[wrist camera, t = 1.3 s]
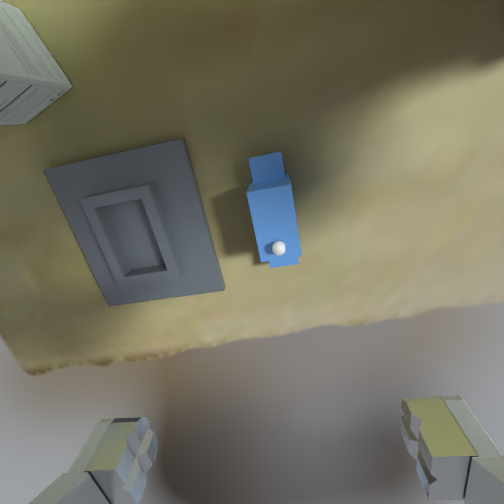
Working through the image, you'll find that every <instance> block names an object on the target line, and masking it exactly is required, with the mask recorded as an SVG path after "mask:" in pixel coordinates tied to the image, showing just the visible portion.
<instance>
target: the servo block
mask: <svg viewBox="0 0 504 504" xmlns="http://www.w3.org/2000/svg"><path fill="white" fill-rule="evenodd" d="M248 159H249V164H250V169H251V174H252V179H253V180H251V183H250V185H249V188H248V190H247V192H246V193H247V198H248V203H249V208H250V212H251V217H252V222H253V226H254V231H255V236H256V241H257V245H258V250H259V255H260V260H261V262H266V261H269V265H270V268H273V267H279V266H286V265H293V264H299V263H298V257H300V256H302V254H301V248H300V241H299V234H298V227H297V220H296V213H295V207H294V200H293V193H292V186H291V181H290V177H289V173H287V174H285V172H284V166H283V159H282V152H281V151H279V152H275V153H270V154H265V155H260V156H255V157H250V158H248Z"/></svg>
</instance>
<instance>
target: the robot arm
mask: <svg viewBox="0 0 504 504" xmlns="http://www.w3.org/2000/svg"><path fill="white" fill-rule="evenodd" d="M401 409H402V411H403V413H404V415H403V416H402V417H401V428H402V433H403V437H404V440H405V444H406V446H407V448H408V451H409V454H410V455H411V456H412V457H413V458H415V459H416V460H417V473H418V476H419V478H420V481H421V483H422V485H423V488H424V490H425V492H426V495H427V497H428V500H464V503H465V504H504V456H502V454H501V453H500V452H499V450H498V449H497V447H496V446H495V444H494V443H493V441H492V440H491V438H490V437H489V436H488V434H487V433H486V431H485V430H484V428H483V427H482V426H481V424H480V423H479V421H478V420H477V418H476V417H475V416H474V414H473V413H472V411H471V410H470V408H469V407H468V405H467V404H466V403H465V401H464V400H463V399H462V398H461V397H460V396H459V395H453V396H440V397H437V396H433V397H421V398H411V399H410V398H409V399H402V401H401ZM149 424H150V423H149V422H148V420H147V418H146V417H139V418H115V419H102V420H101V421H100V422H99V423H97V425H96V427H95V428H94V430H93V432H92V433H91V435H90V436H89V438H88V440H87V441H86V443H85V445H84V446H83V448H82V450H81V451H80V453H79V455H78V456H77V458H76V460H75V461H74V463H73V465H72V467H71V468H70V470H69V472H68V473H63V474H62V475H61V476H60V477H58V478H57V479H56V480H55V481H54V482H53V483H52V484H51V485H49V487H47V488H46V489H45V490H44V491H43V492H41V493H40V494H39V495H38V496H37V497H36V498H35V499H34V500H32V501H31V502H30V503H29V504H139V502H140V499H141V496H142V493H143V491H144V488H145V485H146V483H147V477H146V472H147V470H148V469H149V468H150V467H151V466H152V465H153V463H154V460H155V457H156V453H157V438H156V436H155V433H154V432H152V431H151V430H150V429H148V426H149Z"/></svg>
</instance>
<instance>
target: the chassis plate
mask: <svg viewBox="0 0 504 504" xmlns="http://www.w3.org/2000/svg"><path fill="white" fill-rule="evenodd" d="M43 171H44V173H45V175H46V177H47V179H48V181H49V183H50V185H51V188H52V190H53V192H54V194H55V196H56V198H57V200H58V202H59V204H60V206H61V208H62V210H63V212H64V214H65V217H66V219H67V221H68V223H69V225H70V227H71V229H72V231H73V233H74V235H75V237H76V239H77V241H78V244H79V246H80V248H81V250H82V252H83V254H84V256H85V258H86V260H87V262H88V264H89V266H90V268H91V271H92V273H93V275H94V277H95V279H96V281H97V283H98V285H99V287H100V289H101V291H102V293H103V295H104V297H105V300H106V302H107V304H108V306H113V305H121V304H128V303H136V302H143V301H150V300H158V299H165V298H173V297H180V296H188V295H195V294H202V293H210V292H217V291H224V289H225V284H224V280H223V277H222V273H221V269H220V266H219V262H218V259H217V255H216V251H215V248H214V244H213V240H212V237H211V233H210V230H209V226H208V222H207V219H206V215H205V212H204V208H203V204H202V201H201V197H200V194H199V190H198V186H197V183H196V179H195V176H194V172H193V168H192V165H191V161H190V158H189V154H188V150H187V147H186V143H185V139H184V138H183V139H178V140H173V141H169V142H165V143H160V144H156V145H151V146H147V147H142V148H138V149H133V150H129V151H124V152H120V153H115V154H111V155H107V156H102V157H98V158H93V159H89V160H84V161H80V162H75V163H71V164H66V165H62V166H57V167H53V168H48V169H44V170H43Z"/></svg>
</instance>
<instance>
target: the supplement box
mask: <svg viewBox="0 0 504 504" xmlns="http://www.w3.org/2000/svg"><path fill="white" fill-rule="evenodd" d="M70 88H72V85H71V83H70V82H69V80H68V79H67V77H66V76H65V74H64V73H63V71H62V70H61V69H60V67H59V66H58V64H57V63H56V61H55V60H54V58H53V57H52V55H51V54H50V53H49V51H48V50H47V48H46V47H45V45H44V44H43V42H42V41H41V39H40V38H39V37H38V35H37V34H36V32H35V31H34V29H33V28H32V26H31V25H30V23H29V22H28V20H27V19H26V18H25V16H24V15H23V13H22V12H21V10H20V9H19V8H16V7H14V6H11V5H9V4H7V3H4V2H2V1H0V125H20V124H26V123H27V122H28V121H30V120H31V119H32V118H34V117H35V116H36V115H37V114H39V113H40V112H41V111H42V110H44V109H45V108H46V107H48V106H49V105H50V104H51V103H53V102H54V101H55V100H57V99H58V98H59V97H60V96H62V95H63V94H64V93H65V92H67V91H68V90H69V89H70Z"/></svg>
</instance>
